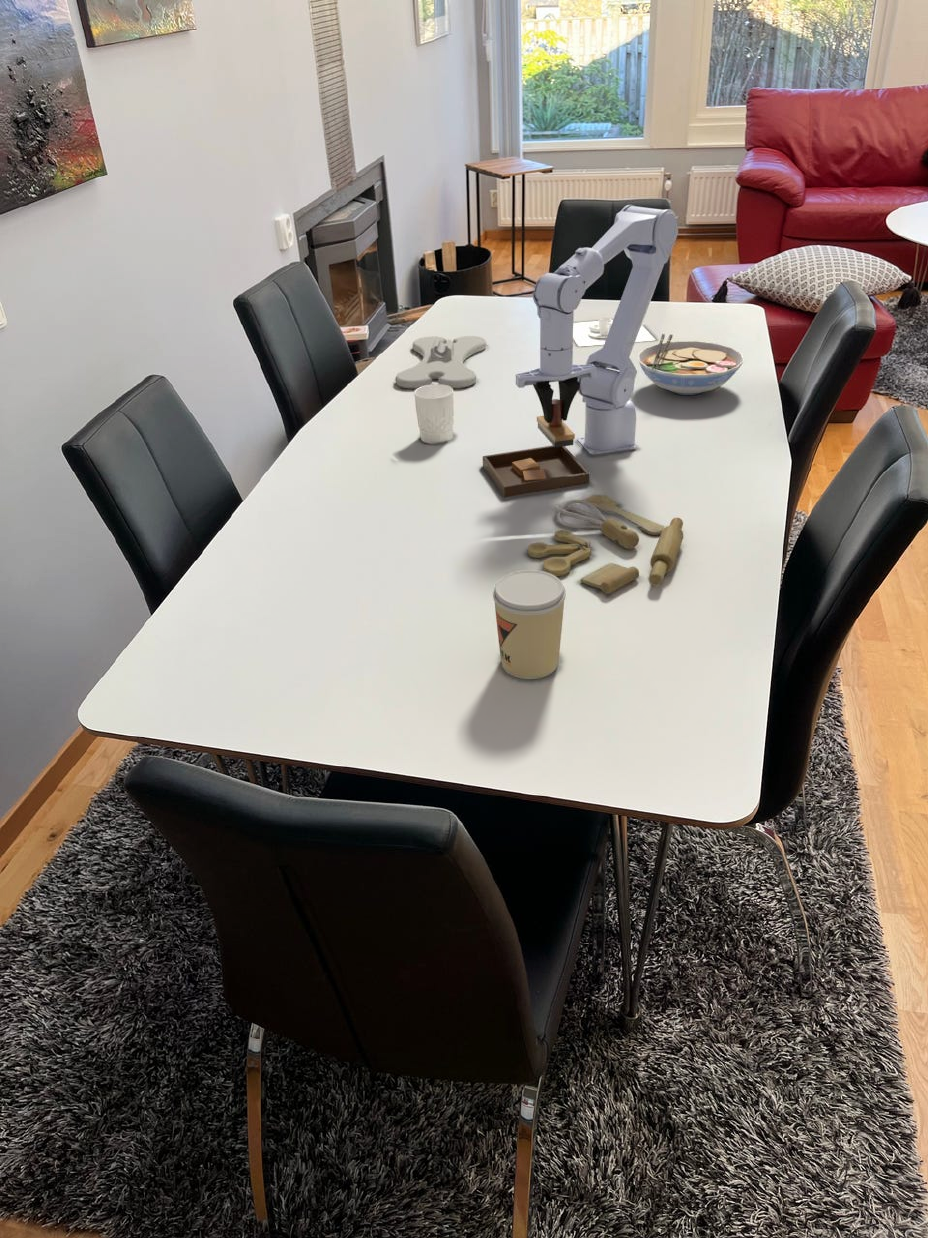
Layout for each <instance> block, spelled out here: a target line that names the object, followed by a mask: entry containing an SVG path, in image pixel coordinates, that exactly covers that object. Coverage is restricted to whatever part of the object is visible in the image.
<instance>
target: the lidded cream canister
mask: <svg viewBox="0 0 928 1238" xmlns="http://www.w3.org/2000/svg"><path fill="white" fill-rule="evenodd" d="M566 594H567V593H566V587H565V586H564V584H563V582H562V581H561V579H560V578H559V577H558V576H554V575H552V574H550V573H547V572H544V571H543V570H537V569H523V570H521V569H520V570H515V571H512V572H510V573H506V574H505V575H503V576H502V577H500V578H499V579H498V580H497V582H496V583H495V586H494V587H493V590H492V598H493V601H494V611H495V620H496V628H497V629H496V630H497V636H498V639H497V640H498V648H499V657H500V662H501V666H502V668H503V670H504V671H505V672H506V673H507V674H509V676H512V677H515V678H517V679H521V680H538V679H542V678H545V677H548V676H549V675H551V674H553V672H555V671H556V669H557V668H558V664H559V660H560V651H561V650H560V649H561V642H562V641H561V640H562V631H563V630H562V629H563V618H564V608H565V600H566V597H567V596H566Z"/></svg>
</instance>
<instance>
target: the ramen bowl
mask: <svg viewBox="0 0 928 1238" xmlns="http://www.w3.org/2000/svg"><path fill="white" fill-rule="evenodd" d="M665 335H666V334H665V333H662V334H661V336H660V340H659V343H656V344H653V345H651V346H647V347H645V348H644V349H642V350H641V351H640V352H638V353H637V360H638V364H639V366H640V368H641V370H642V371H643V373H644V375H645V376H646V378H648V379H649V380H650V382H653V384H655V385H656V386H658V387H659V388H662V389H664V390H668V391H670V392H672V393H674V394H677V395H683V396H694V395H700V394H702V393H704V392H710V391H712V390H715V389H718V388H719V387H721V386H723V385H725V384H726V383H727V382H728V381H729V380H730V379H731V378H732V377H733V376H734V375H735V374H736V373H737V371H738V370H739V369H740V368H741V367H742V364H743V363H744V361H745V359H744V356H743V354H742V352H739V351H738V350H736V349H735V348H734V347H731V346H726V345H722V344H720V343H714V342H708V341H700V340H699V341H698V340H676V341H672V339H673V335H674V334H669V336H668V338H667V340H666V342H664V339H665V337H666V336H665Z"/></svg>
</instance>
